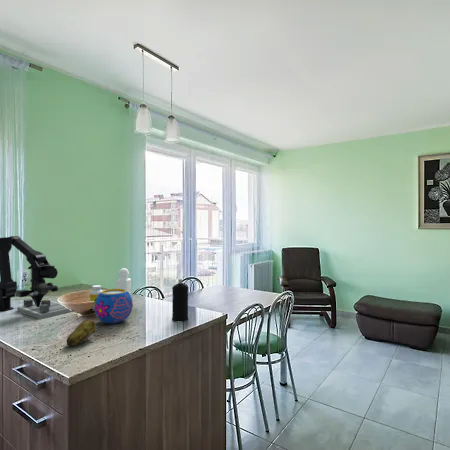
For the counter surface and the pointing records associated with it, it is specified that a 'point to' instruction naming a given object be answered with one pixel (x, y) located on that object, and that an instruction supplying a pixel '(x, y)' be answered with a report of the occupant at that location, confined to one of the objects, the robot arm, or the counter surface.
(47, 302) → the handle
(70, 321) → the counter surface
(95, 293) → the supplement bottle
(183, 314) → the aerosol can
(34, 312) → the panel
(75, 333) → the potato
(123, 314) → the ceramic pot
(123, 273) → the white figurine
